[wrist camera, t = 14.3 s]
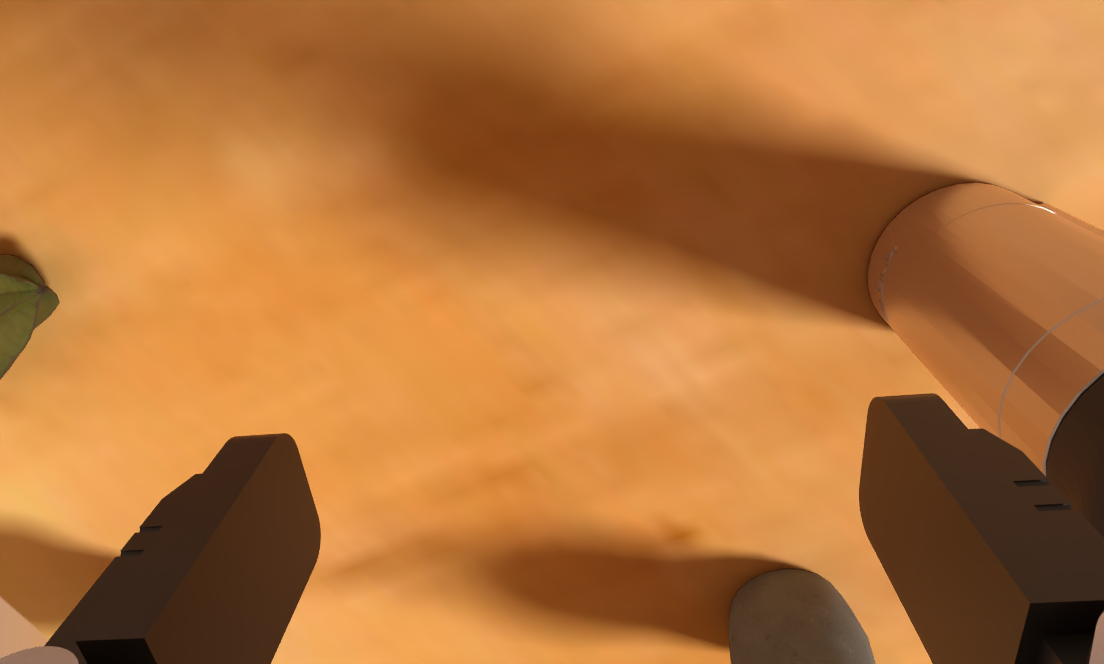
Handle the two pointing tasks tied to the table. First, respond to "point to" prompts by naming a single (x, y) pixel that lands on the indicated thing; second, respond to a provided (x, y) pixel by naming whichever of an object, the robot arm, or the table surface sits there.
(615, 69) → the table surface
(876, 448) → the robot arm
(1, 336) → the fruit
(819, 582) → the vodka
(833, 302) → the table surface
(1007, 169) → the table surface
